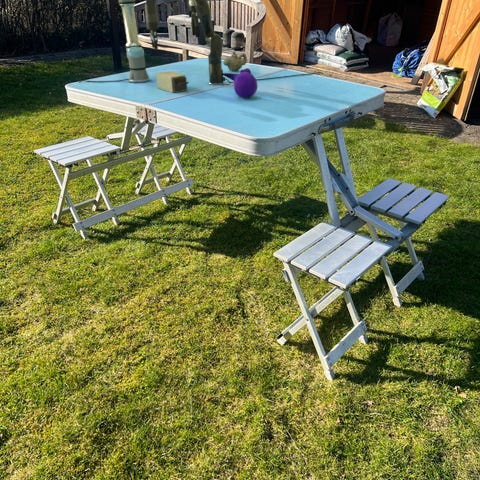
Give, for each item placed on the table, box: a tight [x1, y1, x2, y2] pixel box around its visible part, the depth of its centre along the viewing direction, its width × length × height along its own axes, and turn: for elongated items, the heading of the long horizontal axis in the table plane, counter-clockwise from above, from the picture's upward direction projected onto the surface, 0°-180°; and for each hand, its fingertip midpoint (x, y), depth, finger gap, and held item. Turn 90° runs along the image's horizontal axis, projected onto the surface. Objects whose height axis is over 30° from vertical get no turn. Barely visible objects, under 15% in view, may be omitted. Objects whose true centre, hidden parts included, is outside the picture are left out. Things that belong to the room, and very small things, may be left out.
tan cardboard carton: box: [156, 70, 186, 93], centre depth 310 cm, size 20×11×10 cm, turn 38°
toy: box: [222, 67, 258, 99], centre depth 286 cm, size 16×18×27 cm
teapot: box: [222, 51, 248, 73], centre depth 364 cm, size 21×12×15 cm, turn 120°
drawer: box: [172, 76, 190, 93], centre depth 307 cm, size 24×10×8 cm, turn 38°
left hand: (195, 36), depth 348 cm, fingers open, 13 cm apart
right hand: (155, 48), depth 294 cm, fingers open, 8 cm apart
